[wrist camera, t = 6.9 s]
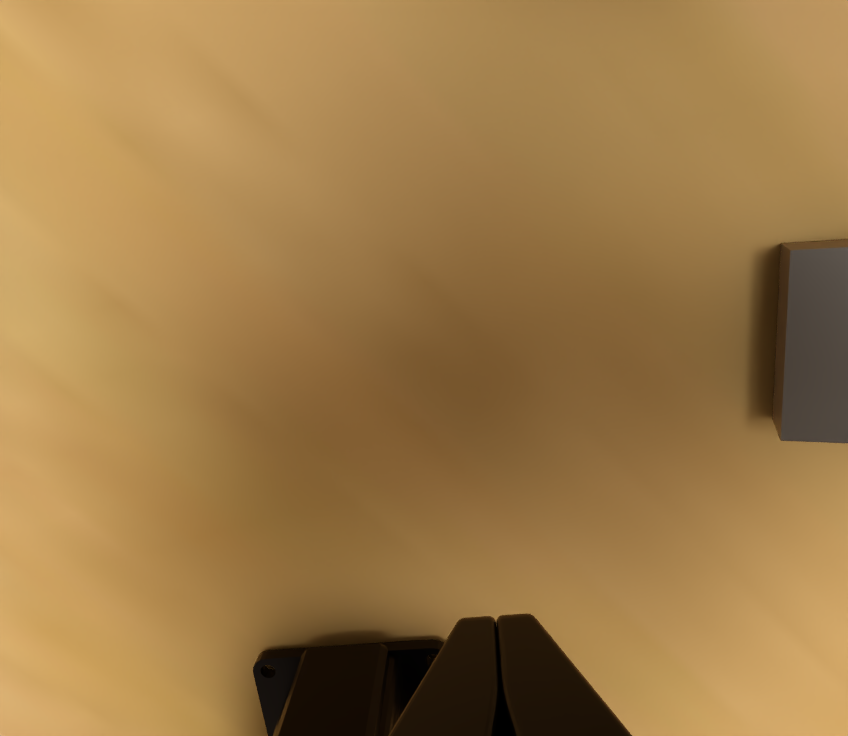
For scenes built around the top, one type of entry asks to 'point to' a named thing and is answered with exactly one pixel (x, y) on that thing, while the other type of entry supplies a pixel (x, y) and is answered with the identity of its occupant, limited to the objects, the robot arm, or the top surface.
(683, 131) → the top surface
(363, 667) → the robot arm
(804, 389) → the domino
